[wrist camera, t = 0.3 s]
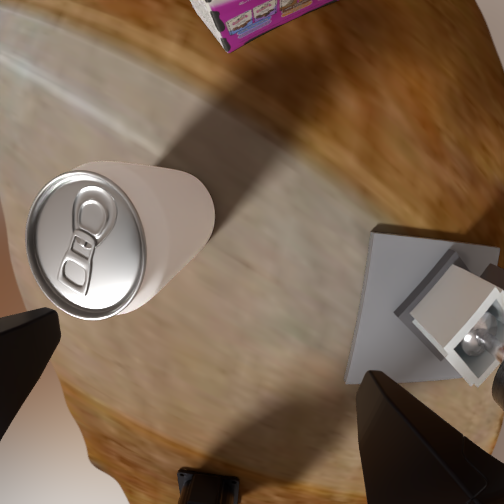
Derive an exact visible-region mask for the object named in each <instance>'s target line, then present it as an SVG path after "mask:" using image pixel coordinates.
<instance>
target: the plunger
mask: <svg viewBox="0 0 504 504" xmlns="http://www.w3.org/2000/svg"><path fill="white" fill-rule="evenodd" d="M497 327H498V326H497V320H496V318H495V317H494V316H493V315H492V314H490V313H489V312H487V311H486V312H485V313H484V315H483V316H482V317H481V318H480V320H479V321H478V322H477V323H476V324H475V326H474V327H473V328H472V329H471V330H470V331H469V333H468V334H467V335H466V336H465V337H464V338H463V339H462V340H461V342H460V343H459V345H460V347H461V349H462V350H463V351H464V352H465V353H466V354H468V355H470V356H477V355H480V354H481V353H483V352H484V351H488V352H489V353H490V354H491V355H492V356H493V357H494V358H495V359H497V360H498V361H499V362H500V363H501V365H500V367H499V369H498V371H497V373H496V375H495V378H494V381H493V386H492V396H493V399H494V400H495V401H496V403H497V404H498V405H499V406H500V407H501V408H502V409H503V411H504V343H503V342H501V341H500V340H499V339H497V338H496V337H495V336H496V333H497Z"/></svg>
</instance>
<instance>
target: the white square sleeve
mask: <svg viewBox="0 0 504 504" xmlns="http://www.w3.org/2000/svg"><path fill="white" fill-rule="evenodd" d="M486 311H487V312H489V313H490V314H492V315H493V316H494V317H495V318H496V320H497V326H498V327H497V333H496V336H495V337H496V338H497V339H499V340H500V341H501V342H503V343H504V269H503V268H500V267H498V266H496V265H493V264H491V263H490V264H489V265H488V266H487V268H486V269H485V270H484V272H483V273H482V274H481V276H480V277H478V276H476V275H474V274H472V273H471V272H470V270H469V269H468V268H467V266H466V265H465V263H464V262H463V261H462V259H461V258H460V257H459V255H458V254H457V253H456V251H453V250H451V249H448V250H447V252H446V253H445V254H444V255H443V256H442V258H441V259H440V260H439V261H438V263H437V264H436V265H435V266H434V267H433V269H432V270H431V271H430V272H429V273H428V274H427V276H426V277H425V278H424V279H423V280H422V281H421V282H420V284H419V285H418V286H417V287H416V288H415V289H414V290H413V291H412V293H411V294H410V295H409V296H408V297H407V298H406V299H405V300H404V301H403V302H402V303H401V305H400V306H399V307H398V308H397V309H396V310H395V311H394V312H393V313H394V314H395V315H396V316H397V317H398V318H399V319H400V320H401V321H402V322H403V323H404V324H405V325H406V326H407V327H408V328H409V329H410V330H411V331H412V332H413V333H414V334H415V335H416V336H417V337H418V338H419V340H420V341H421V342H422V343H423V344H424V345H425V346H426V347H427V348H428V349H429V350H430V351H431V352H432V353H433V354H434V355H435V356H436V357H437V358H438V359H439V360H440V362H441V361H442V360H443V359H444V358H446V359H447V360H448V361H449V363H450V364H451V365H452V366H453V367H454V368H455V369H456V370H457V371H458V373H459V374H460V375H461V376H462V377H463V378H464V379H465V380H466V382H467V383H468V384H469V385H470V386H472V385H473V384H475V385H476V386H477V387H479V386H480V385H481V384H482V383H483V382H484V380H485V379H486V378H487V377H488V376H489V375H490V374H491V373H492V372H493V371H494V369H495V368H496V367H497V366H498V365H499V364H500V362H499V361H498V360H497V359H495V358H494V357H493V356H492V355H491V354H490V353H489V352H488V351H484V352H483V353H481V354H480V355H477V356H470V355H468V354H466V353H465V352H464V351H463V350H462V349H461V347H460V345H459V343H460V342H461V340H462V339H463V338H464V337H465V336H466V335H467V334H468V333H469V331H470V330H471V329H472V328H473V327H474V326H475V324H476V323H477V322H478V321H479V320H480V318H481V317H482V316H483V315H484V313H485V312H486Z"/></svg>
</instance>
